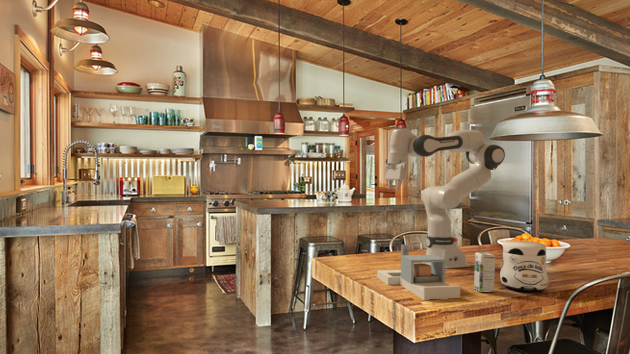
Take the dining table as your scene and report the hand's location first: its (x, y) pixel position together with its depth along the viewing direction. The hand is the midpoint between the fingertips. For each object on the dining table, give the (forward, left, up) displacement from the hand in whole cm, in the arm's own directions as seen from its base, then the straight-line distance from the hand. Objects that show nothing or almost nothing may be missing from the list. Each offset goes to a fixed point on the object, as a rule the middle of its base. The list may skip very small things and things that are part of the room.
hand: (393, 189), depth 211 cm
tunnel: (+2, +37, -34) cm, 51 cm away
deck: (+5, +36, -37) cm, 52 cm away
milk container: (-38, +44, -38) cm, 69 cm away
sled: (+2, +30, -34) cm, 45 cm away
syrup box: (-20, +45, -38) cm, 62 cm away
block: (+2, +37, -34) cm, 51 cm away
